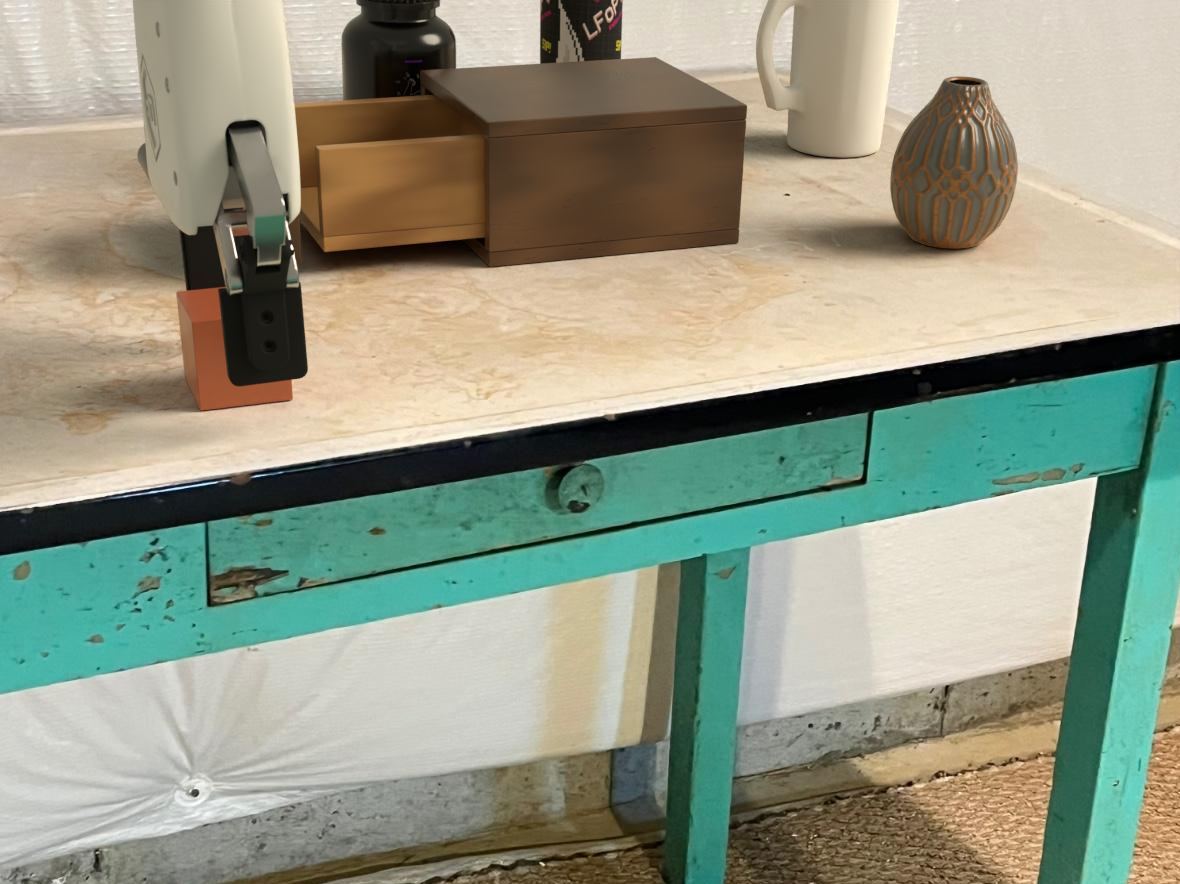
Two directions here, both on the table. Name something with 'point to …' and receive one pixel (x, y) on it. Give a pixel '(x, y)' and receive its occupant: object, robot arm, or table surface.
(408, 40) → the supplement bottle
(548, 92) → the cabinet
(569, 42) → the beverage can
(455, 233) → the drawer
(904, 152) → the vase
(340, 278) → the table surface
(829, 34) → the mug
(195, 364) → the block
